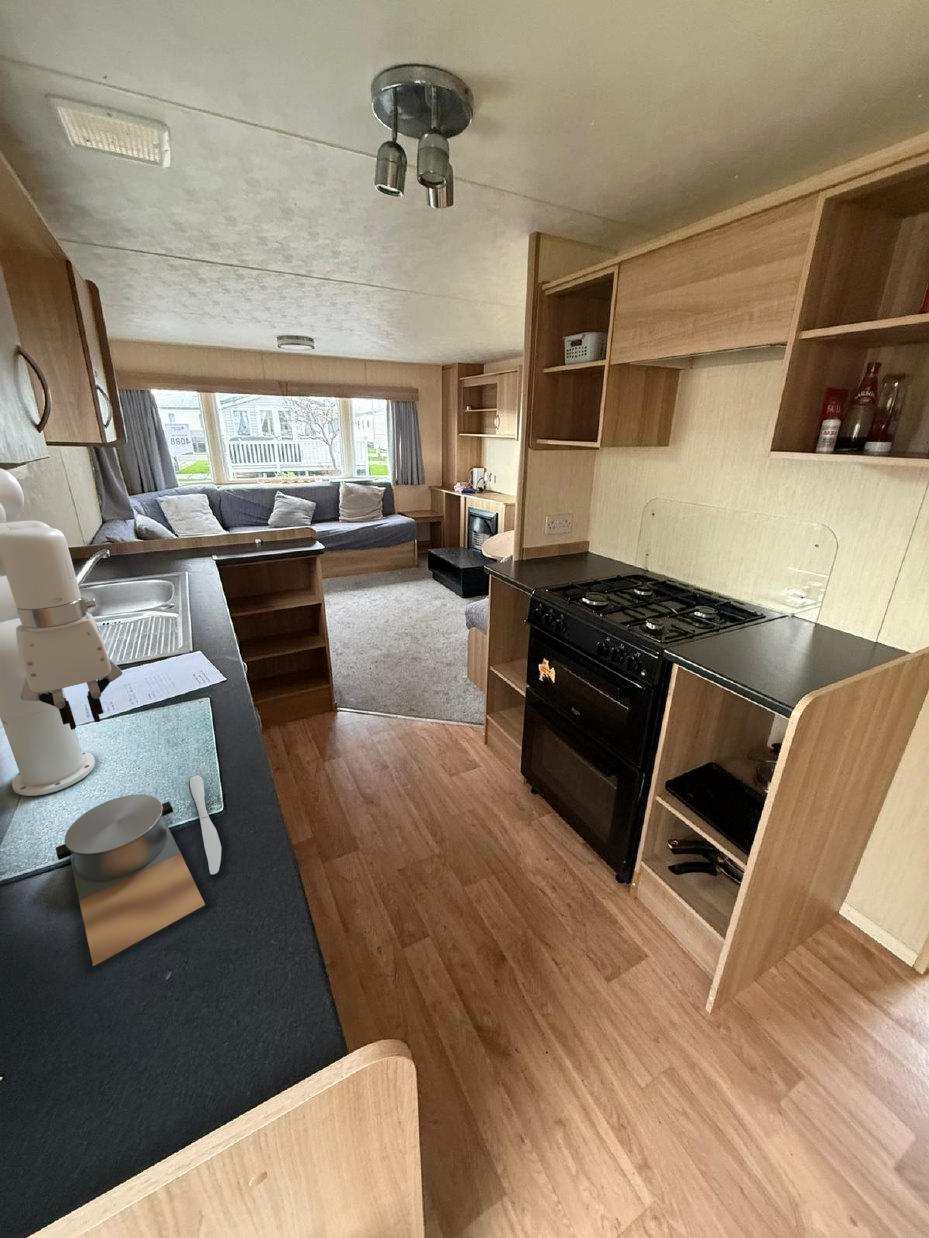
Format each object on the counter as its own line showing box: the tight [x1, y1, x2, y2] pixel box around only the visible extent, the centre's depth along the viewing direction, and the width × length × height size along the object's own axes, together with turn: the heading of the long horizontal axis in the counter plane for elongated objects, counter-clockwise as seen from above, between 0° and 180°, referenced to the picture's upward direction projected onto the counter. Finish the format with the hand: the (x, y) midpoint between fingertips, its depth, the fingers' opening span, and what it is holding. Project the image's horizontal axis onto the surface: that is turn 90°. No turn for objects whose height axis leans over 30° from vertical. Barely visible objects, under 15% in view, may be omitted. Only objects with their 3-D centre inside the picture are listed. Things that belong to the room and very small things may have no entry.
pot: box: [55, 793, 174, 882], centre depth 78 cm, size 13×15×6 cm
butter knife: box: [189, 774, 222, 876], centre depth 86 cm, size 1×27×3 cm
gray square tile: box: [69, 816, 181, 902], centre depth 79 cm, size 12×13×1 cm
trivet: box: [78, 852, 206, 967], centre depth 70 cm, size 12×13×1 cm
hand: (84, 721), depth 80 cm, fingers closed
